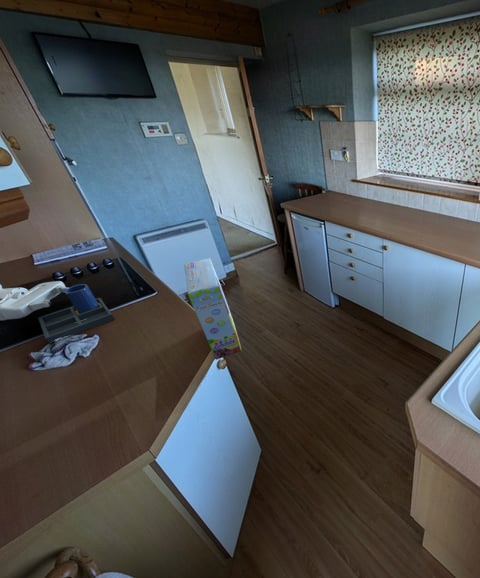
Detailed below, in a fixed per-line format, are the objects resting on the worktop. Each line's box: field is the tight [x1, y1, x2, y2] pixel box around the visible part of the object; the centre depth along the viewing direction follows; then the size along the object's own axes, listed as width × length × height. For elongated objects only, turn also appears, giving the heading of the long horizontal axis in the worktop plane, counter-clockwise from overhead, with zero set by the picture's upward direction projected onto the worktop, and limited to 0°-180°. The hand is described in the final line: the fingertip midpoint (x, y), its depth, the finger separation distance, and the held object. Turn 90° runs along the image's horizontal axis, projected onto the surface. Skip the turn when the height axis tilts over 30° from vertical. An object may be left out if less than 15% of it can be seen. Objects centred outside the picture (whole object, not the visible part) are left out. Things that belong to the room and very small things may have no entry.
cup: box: [64, 283, 100, 314], centre depth 110 cm, size 6×6×10 cm
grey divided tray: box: [37, 297, 116, 344], centre depth 108 cm, size 18×18×3 cm
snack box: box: [183, 257, 243, 360], centre depth 95 cm, size 22×9×26 cm, turn 33°
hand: (59, 296), depth 108 cm, fingers open, 8 cm apart
